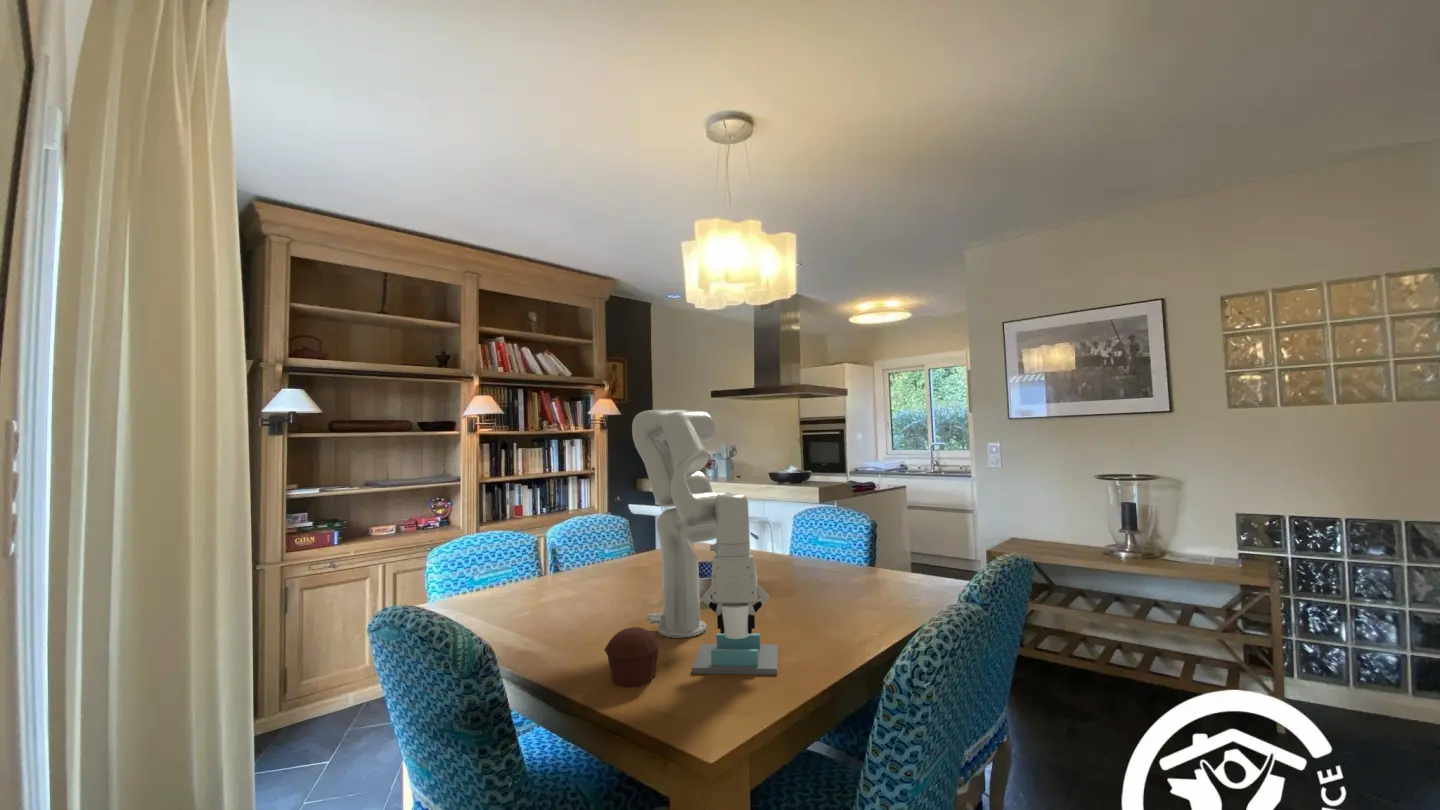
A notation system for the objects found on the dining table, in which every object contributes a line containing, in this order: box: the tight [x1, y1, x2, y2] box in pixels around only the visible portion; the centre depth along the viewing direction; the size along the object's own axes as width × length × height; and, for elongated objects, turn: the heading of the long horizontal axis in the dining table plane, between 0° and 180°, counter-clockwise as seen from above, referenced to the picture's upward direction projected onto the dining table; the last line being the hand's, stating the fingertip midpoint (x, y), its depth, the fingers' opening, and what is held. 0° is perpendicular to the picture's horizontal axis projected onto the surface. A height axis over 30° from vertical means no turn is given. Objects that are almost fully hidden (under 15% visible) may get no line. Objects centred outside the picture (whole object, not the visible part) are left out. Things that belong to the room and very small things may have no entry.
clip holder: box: [691, 632, 779, 676], centre depth 129 cm, size 18×14×4 cm
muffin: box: [604, 626, 661, 689], centre depth 121 cm, size 12×11×10 cm
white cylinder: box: [721, 603, 750, 639], centre depth 129 cm, size 7×7×7 cm
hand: (736, 631), depth 129 cm, fingers closed on white cylinder, 5 cm apart
